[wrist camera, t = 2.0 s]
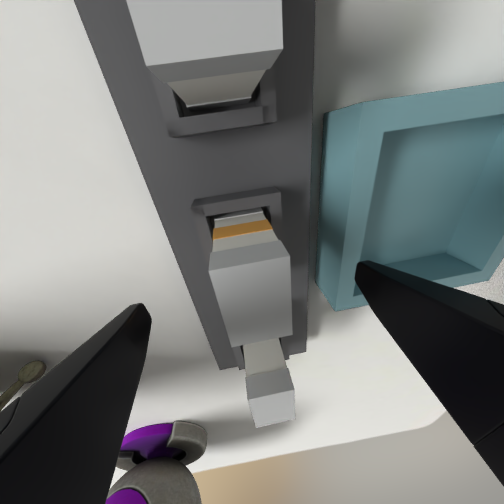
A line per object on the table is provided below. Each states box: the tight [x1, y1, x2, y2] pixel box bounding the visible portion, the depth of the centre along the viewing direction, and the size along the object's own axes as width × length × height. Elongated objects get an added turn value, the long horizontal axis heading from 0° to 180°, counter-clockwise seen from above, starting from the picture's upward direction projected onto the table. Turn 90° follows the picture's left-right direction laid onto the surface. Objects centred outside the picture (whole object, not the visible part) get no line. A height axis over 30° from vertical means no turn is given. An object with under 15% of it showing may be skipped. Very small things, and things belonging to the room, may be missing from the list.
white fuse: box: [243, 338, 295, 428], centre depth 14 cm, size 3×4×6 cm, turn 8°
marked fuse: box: [209, 207, 293, 347], centre depth 10 cm, size 3×4×6 cm, turn 8°
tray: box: [315, 82, 504, 311], centre depth 13 cm, size 12×12×4 cm
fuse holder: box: [74, 0, 315, 370], centre depth 12 cm, size 9×28×3 cm, turn 8°
